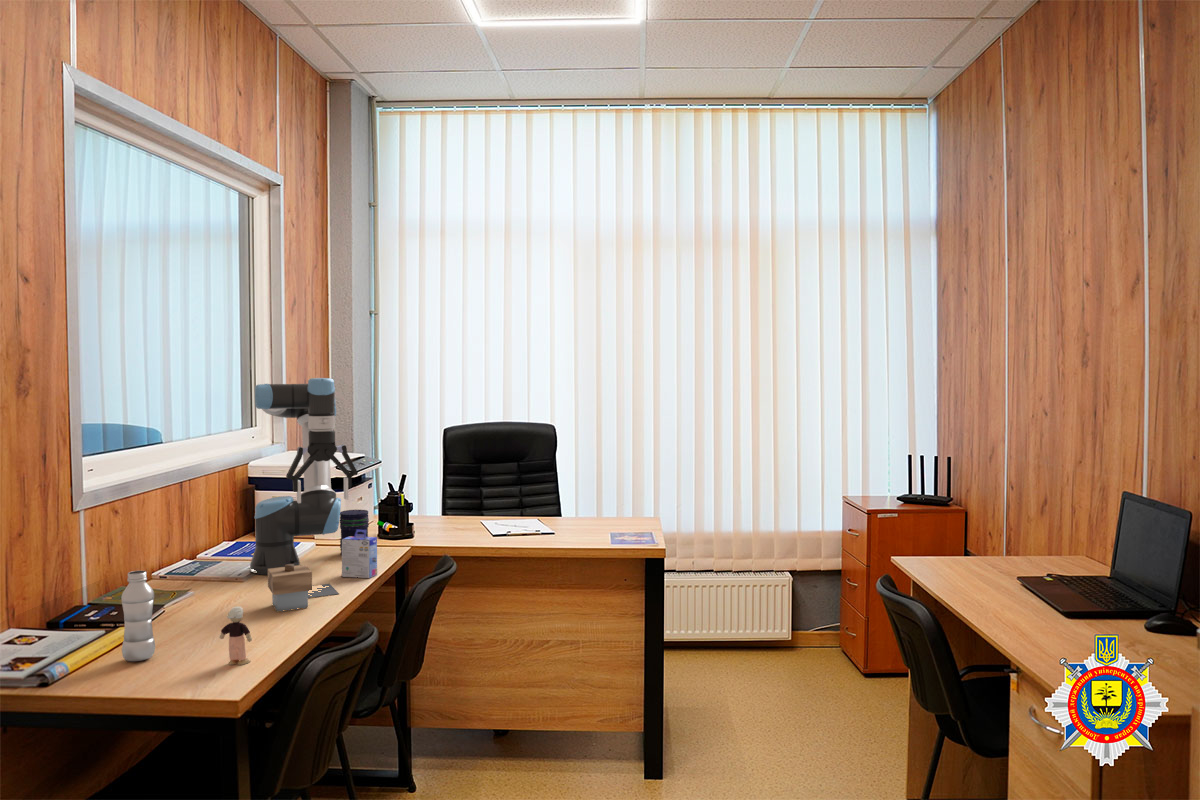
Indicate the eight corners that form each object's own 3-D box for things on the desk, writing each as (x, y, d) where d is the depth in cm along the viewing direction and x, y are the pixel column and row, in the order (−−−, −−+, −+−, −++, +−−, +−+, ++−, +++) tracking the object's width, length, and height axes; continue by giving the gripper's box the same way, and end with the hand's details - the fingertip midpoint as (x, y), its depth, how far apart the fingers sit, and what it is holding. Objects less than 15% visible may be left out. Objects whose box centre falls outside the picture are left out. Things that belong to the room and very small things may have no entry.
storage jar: (355, 558, 287) (355, 515, 287) (333, 555, 292) (333, 513, 291) (375, 552, 296) (374, 510, 296) (353, 549, 301) (353, 508, 300)
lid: (267, 586, 232) (267, 563, 232) (305, 581, 237) (304, 559, 237) (273, 595, 223) (273, 571, 223) (312, 590, 228) (311, 566, 228)
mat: (284, 589, 247) (284, 589, 247) (329, 584, 253) (329, 583, 253) (292, 600, 236) (292, 599, 236) (339, 594, 242) (339, 593, 242)
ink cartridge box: (378, 574, 265) (377, 529, 264) (370, 578, 260) (369, 532, 259) (349, 573, 267) (349, 528, 266) (341, 577, 262) (340, 531, 261)
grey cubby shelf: (272, 604, 232) (272, 586, 231) (302, 600, 236) (302, 583, 235) (277, 612, 225) (276, 593, 224) (307, 607, 229) (307, 589, 228)
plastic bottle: (130, 655, 191) (128, 569, 190) (160, 654, 192) (158, 568, 191) (116, 665, 185) (114, 576, 184) (148, 664, 185) (146, 575, 185)
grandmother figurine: (257, 659, 189) (256, 604, 188) (250, 665, 185) (249, 609, 184) (222, 659, 188) (221, 604, 188) (215, 665, 184) (214, 609, 184)
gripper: (279, 432, 238) (280, 506, 239) (367, 429, 250) (367, 499, 251) (275, 430, 245) (276, 502, 246) (361, 427, 257) (362, 495, 258)
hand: (322, 500), depth 248 cm, fingers open, 13 cm apart
